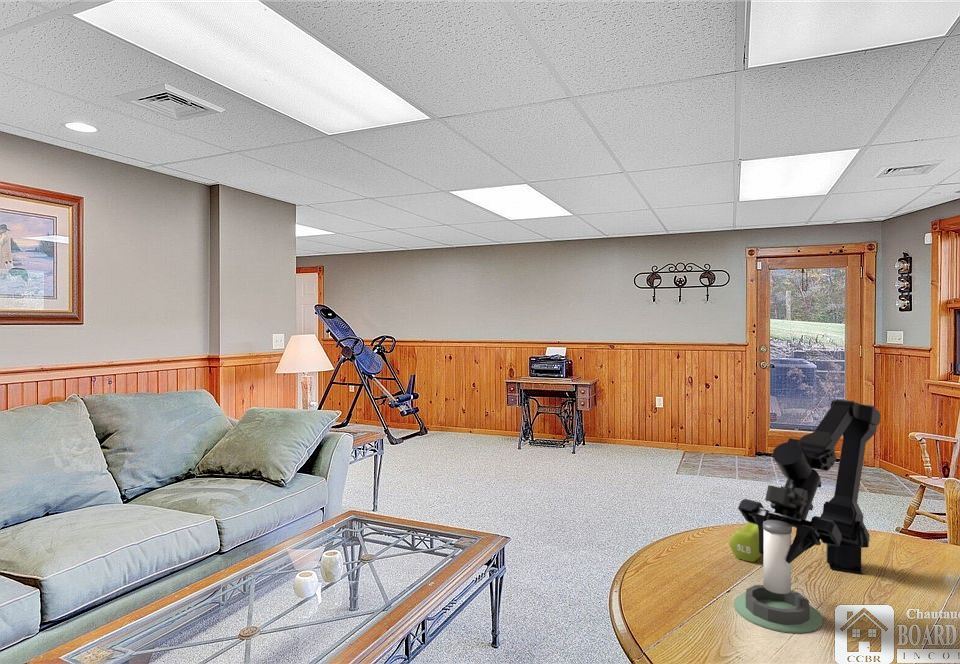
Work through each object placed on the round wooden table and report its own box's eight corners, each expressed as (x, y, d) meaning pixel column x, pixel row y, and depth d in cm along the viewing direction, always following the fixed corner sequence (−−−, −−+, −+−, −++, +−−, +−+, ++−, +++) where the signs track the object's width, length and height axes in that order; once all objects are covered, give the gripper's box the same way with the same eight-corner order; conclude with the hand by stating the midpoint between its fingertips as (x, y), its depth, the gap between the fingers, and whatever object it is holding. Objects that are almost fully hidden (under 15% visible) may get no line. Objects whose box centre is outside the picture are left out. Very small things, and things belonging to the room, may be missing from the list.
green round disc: (819, 602, 123) (819, 589, 122) (825, 641, 108) (825, 625, 108) (736, 587, 130) (736, 574, 130) (731, 621, 115) (731, 607, 115)
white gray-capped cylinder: (784, 582, 121) (784, 520, 121) (796, 594, 116) (796, 529, 116) (758, 582, 122) (758, 520, 121) (769, 594, 117) (769, 529, 116)
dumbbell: (760, 566, 141) (760, 537, 140) (726, 558, 146) (726, 529, 146) (779, 546, 153) (779, 518, 153) (747, 538, 158) (747, 512, 158)
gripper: (742, 461, 128) (715, 523, 122) (836, 480, 113) (810, 551, 107) (760, 490, 133) (734, 551, 127) (851, 511, 118) (828, 581, 112)
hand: (773, 557), depth 118 cm, fingers closed on white gray-capped cylinder, 5 cm apart
